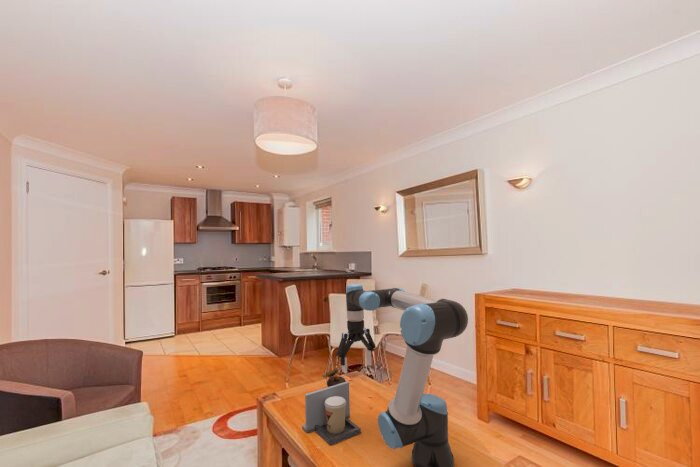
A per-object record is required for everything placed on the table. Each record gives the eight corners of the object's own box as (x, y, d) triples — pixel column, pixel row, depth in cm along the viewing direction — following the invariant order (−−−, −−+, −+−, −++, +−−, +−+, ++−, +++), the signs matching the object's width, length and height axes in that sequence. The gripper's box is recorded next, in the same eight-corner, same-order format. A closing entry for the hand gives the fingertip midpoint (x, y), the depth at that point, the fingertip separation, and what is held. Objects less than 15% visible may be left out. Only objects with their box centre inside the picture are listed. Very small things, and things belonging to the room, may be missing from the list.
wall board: (349, 417, 156) (349, 382, 156) (307, 433, 144) (306, 395, 144) (343, 412, 160) (343, 378, 160) (302, 428, 148) (301, 391, 148)
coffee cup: (322, 425, 149) (322, 397, 149) (343, 421, 152) (342, 394, 152) (327, 436, 140) (327, 407, 140) (349, 432, 143) (348, 403, 143)
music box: (334, 417, 156) (330, 373, 157) (318, 412, 163) (315, 369, 165) (356, 405, 167) (352, 364, 169) (340, 400, 174) (337, 361, 176)
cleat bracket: (360, 433, 143) (360, 428, 143) (330, 445, 134) (330, 440, 134) (343, 419, 154) (343, 415, 154) (314, 430, 146) (314, 425, 146)
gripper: (371, 314, 158) (373, 360, 157) (327, 322, 143) (328, 373, 142) (382, 316, 152) (384, 364, 151) (337, 325, 137) (338, 378, 136)
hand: (357, 368), depth 147 cm, fingers open, 13 cm apart
